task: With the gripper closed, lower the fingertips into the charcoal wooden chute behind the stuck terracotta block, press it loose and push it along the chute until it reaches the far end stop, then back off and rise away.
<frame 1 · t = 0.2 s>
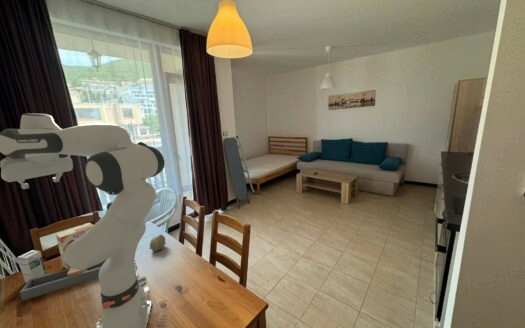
hand: (41, 184, 85), 51 cm above the table, tool tilted 20°, fingers open, 8 cm apart
beige rough lump: (158, 249, 125), on the table
terracotta block: (77, 272, 102), point 3 cm above the table, slide at 0.0 cm
coffeecake box: (83, 260, 117), on the table
charcoal chute: (73, 279, 102), on the table
syrup box: (36, 279, 103), on the table
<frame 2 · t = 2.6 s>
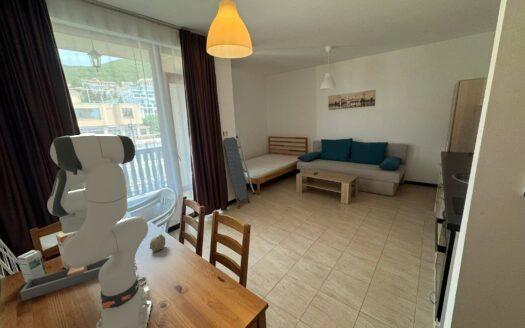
hand: (92, 235, 103), 21 cm above the table, tool pointing down, fingers closed
nothing on the table moved.
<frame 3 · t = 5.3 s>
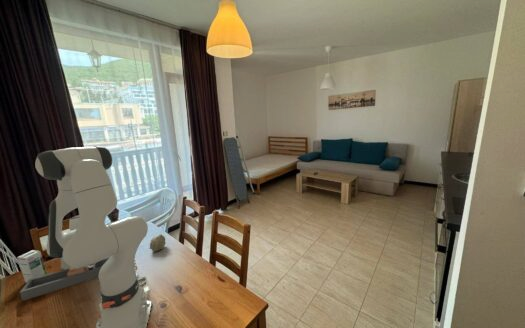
hand: (91, 269, 105), 3 cm above the table, tool pointing down, fingers closed
terracotta block: (77, 272, 102), point 3 cm above the table, slide at 0.0 cm, touching gripper
everything else where it was.
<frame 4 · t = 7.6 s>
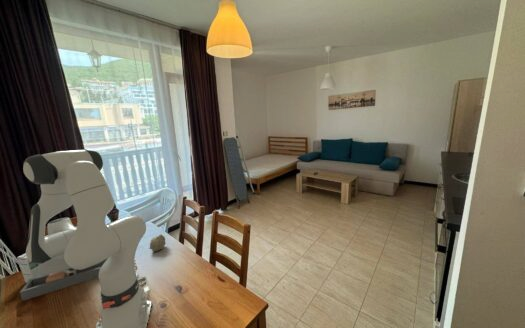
hand: (72, 275, 102), 3 cm above the table, tool pointing down, fingers closed
terracotta block: (57, 277, 99), point 4 cm above the table, slide at 7.5 cm, touching gripper
everything else where it was.
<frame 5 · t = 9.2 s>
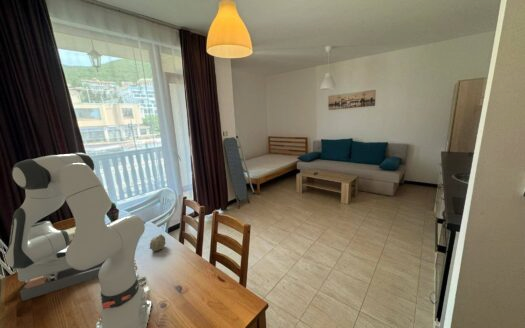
hand: (53, 280, 98), 3 cm above the table, tool pointing down, fingers closed
terracotta block: (38, 283, 96), point 3 cm above the table, slide at 14.1 cm, touching gripper
everything else where it was.
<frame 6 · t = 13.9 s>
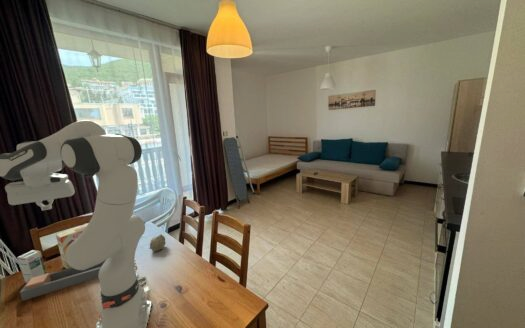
hand: (47, 209, 91), 39 cm above the table, tool pointing down, fingers closed
terracotta block: (38, 283, 96), point 4 cm above the table, slide at 14.0 cm
everything else where it was.
at the end: terracotta block slide at 14.0 cm; terracotta block 1.5 cm from the target spot, resting on charcoal chute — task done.
